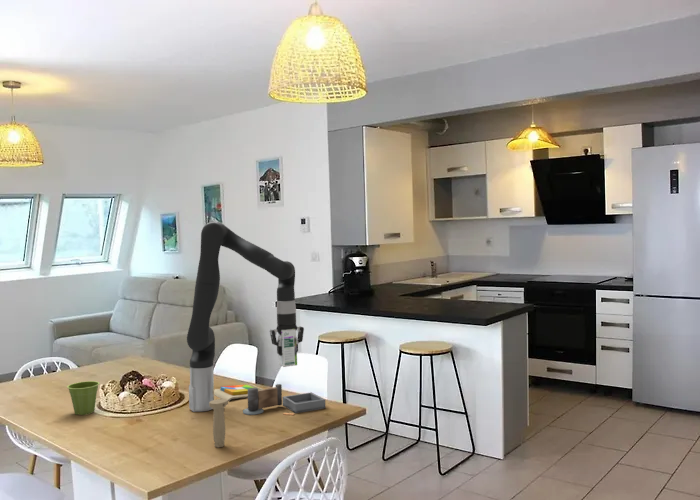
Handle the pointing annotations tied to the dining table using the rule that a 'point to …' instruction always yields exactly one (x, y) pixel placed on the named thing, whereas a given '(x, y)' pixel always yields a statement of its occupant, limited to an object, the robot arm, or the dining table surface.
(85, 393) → the plant pot
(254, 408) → the crank lever
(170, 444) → the dining table surface
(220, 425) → the handle
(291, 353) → the syrup box
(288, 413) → the crank base
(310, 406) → the grey tray
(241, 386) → the wooden puzzle
